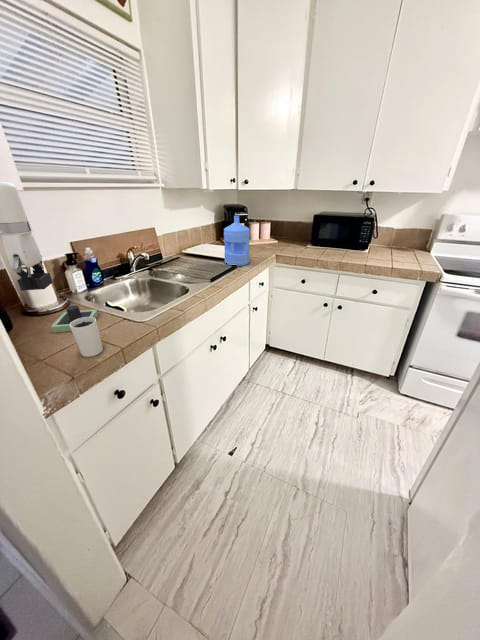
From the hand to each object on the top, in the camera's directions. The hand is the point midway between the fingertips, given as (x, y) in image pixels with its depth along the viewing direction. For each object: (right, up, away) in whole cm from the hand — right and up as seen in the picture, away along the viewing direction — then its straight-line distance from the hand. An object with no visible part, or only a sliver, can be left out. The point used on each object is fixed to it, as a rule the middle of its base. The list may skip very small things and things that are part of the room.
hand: (36, 284), depth 86 cm
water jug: (+66, +24, +78) cm, 105 cm away
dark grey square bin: (0, -1, 0) cm, 1 cm away
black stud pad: (+8, -12, +8) cm, 17 cm away
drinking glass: (+23, -21, -7) cm, 32 cm away
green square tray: (+8, -13, +8) cm, 17 cm away
